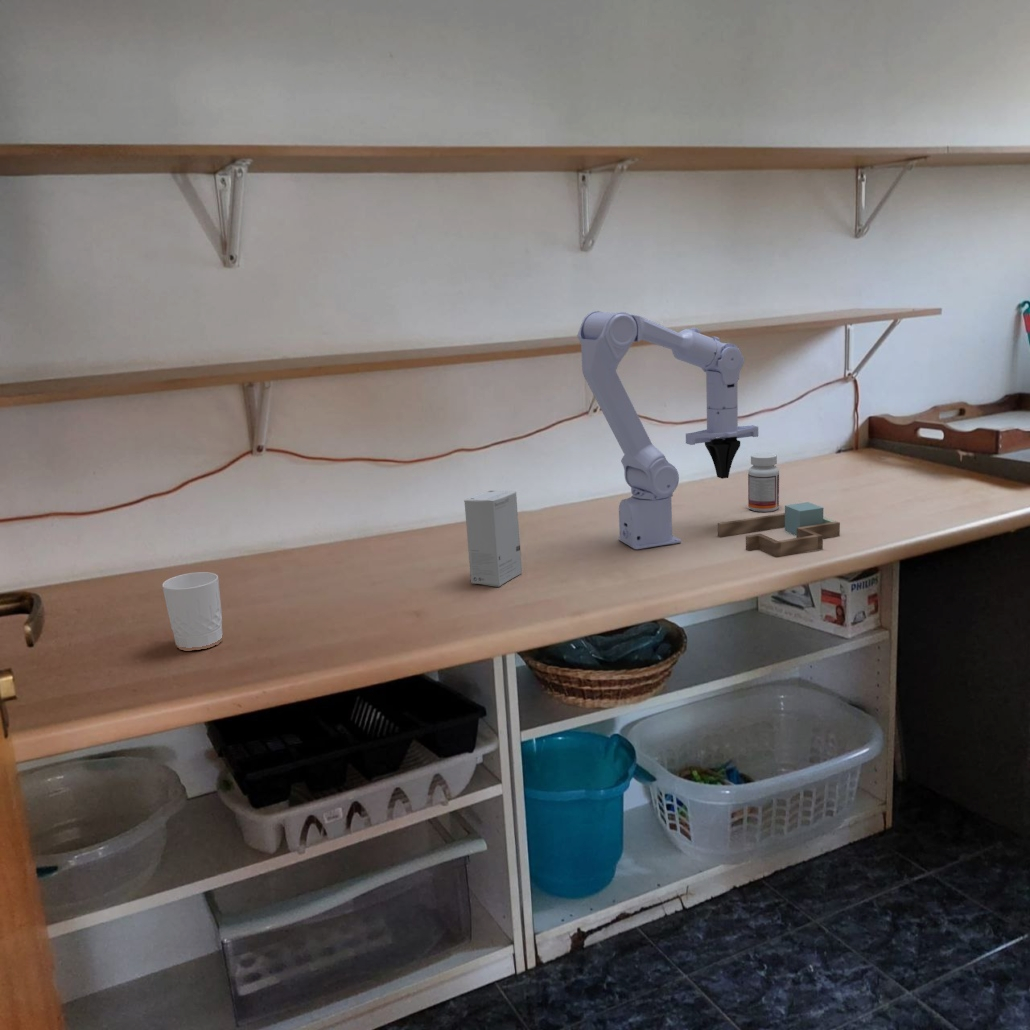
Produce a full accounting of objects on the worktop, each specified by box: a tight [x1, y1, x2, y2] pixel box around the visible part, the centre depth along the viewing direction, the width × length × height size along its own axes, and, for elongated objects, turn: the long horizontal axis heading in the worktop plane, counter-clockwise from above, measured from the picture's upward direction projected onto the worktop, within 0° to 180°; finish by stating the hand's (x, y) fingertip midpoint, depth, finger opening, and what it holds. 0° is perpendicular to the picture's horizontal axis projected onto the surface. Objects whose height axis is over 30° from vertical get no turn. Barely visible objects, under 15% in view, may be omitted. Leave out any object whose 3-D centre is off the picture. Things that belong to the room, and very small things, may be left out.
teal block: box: [784, 501, 824, 537], centre depth 182 cm, size 5×5×5 cm
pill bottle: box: [747, 452, 780, 513], centre depth 199 cm, size 6×6×11 cm
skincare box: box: [463, 490, 523, 588], centre depth 165 cm, size 8×6×15 cm
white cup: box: [161, 571, 224, 648], centre depth 144 cm, size 8×8×10 cm
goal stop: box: [823, 516, 836, 523], centre depth 183 cm, size 1×9×2 cm, turn 18°
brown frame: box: [717, 512, 841, 558], centre depth 178 cm, size 19×16×2 cm
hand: (722, 477), depth 186 cm, fingers closed
